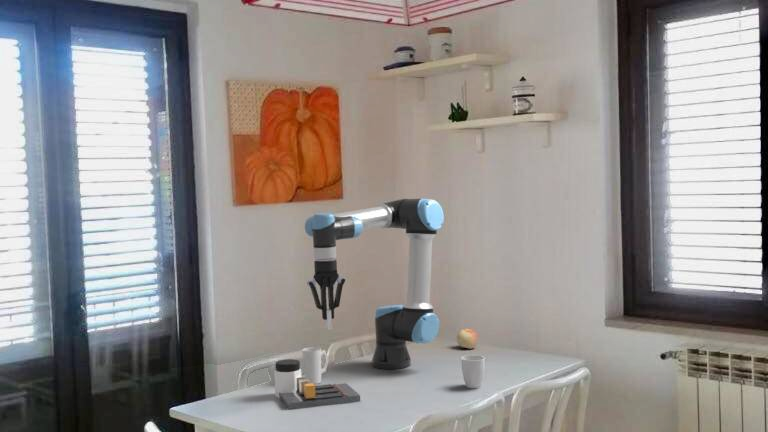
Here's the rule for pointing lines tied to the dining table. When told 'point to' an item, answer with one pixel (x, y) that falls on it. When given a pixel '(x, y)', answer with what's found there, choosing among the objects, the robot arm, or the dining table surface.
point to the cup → (473, 370)
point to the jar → (286, 376)
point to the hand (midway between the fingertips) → (328, 328)
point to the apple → (467, 338)
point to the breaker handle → (309, 390)
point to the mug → (313, 364)
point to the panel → (319, 395)
